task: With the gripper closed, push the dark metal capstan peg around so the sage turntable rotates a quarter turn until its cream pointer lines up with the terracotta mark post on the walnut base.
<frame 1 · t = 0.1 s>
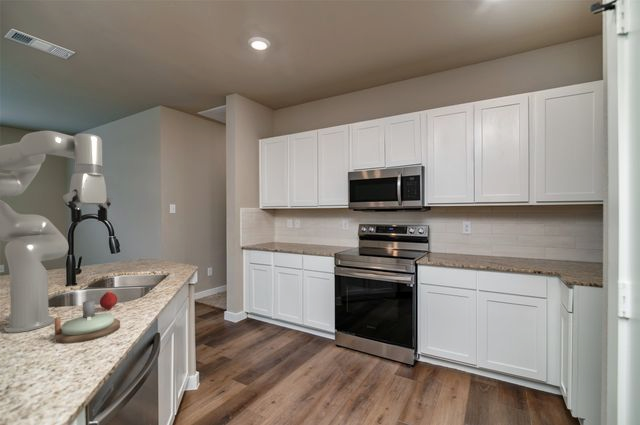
hand: (90, 221, 102), 37 cm above the table, tool pointing down, fingers open, 9 cm apart
base plate: (89, 332, 98), on the table
onion: (108, 310, 121), on the table
turntable: (88, 316, 98), point 5 cm above the table, hinge at 0.0°
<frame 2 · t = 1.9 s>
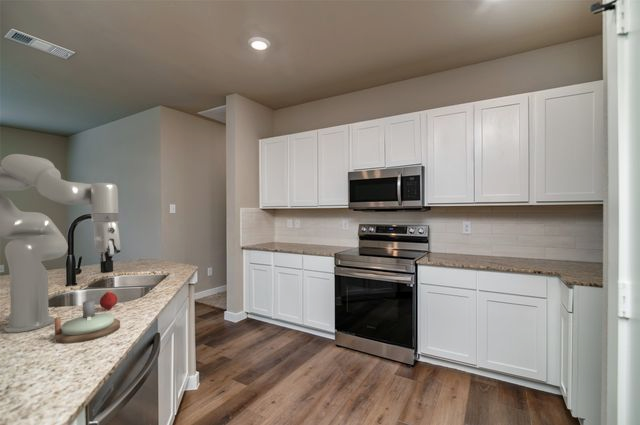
hand: (107, 272, 102), 19 cm above the table, tool pointing down, fingers closed
nothing on the table moved.
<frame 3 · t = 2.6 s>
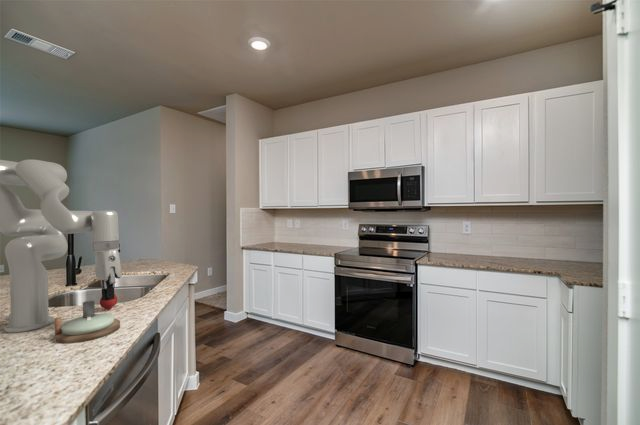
hand: (108, 299, 102), 10 cm above the table, tool pointing down, fingers closed
nothing on the table moved.
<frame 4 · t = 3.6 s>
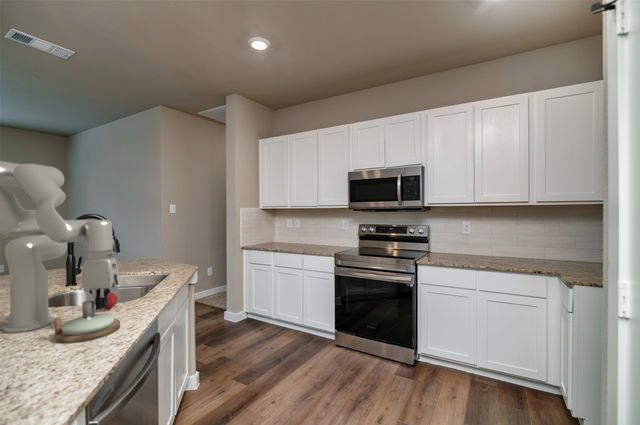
hand: (101, 308, 103), 6 cm above the table, tool pointing down, fingers closed
turntable: (88, 316, 98), point 5 cm above the table, hinge at 0.9°, touching gripper
everything else where it was.
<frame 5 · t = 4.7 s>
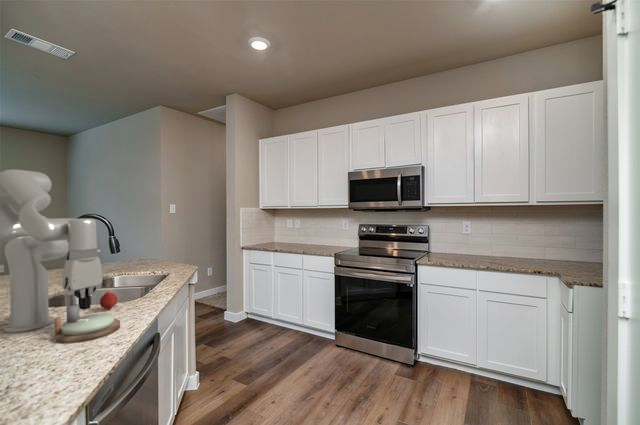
hand: (84, 308, 101), 7 cm above the table, tool pointing down, fingers closed
turntable: (88, 316, 98), point 5 cm above the table, hinge at 55.6°, touching gripper
everything else where it was.
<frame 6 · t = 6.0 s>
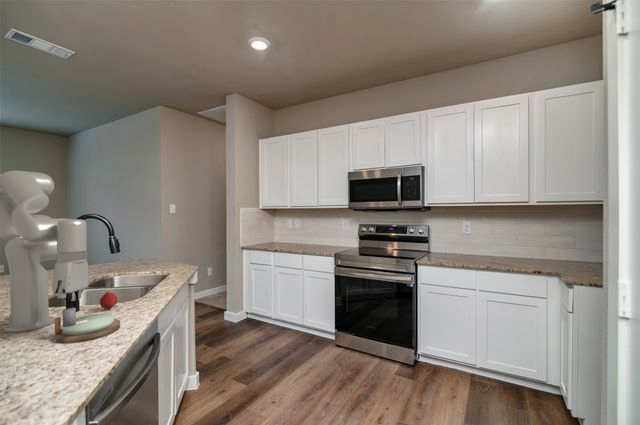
hand: (72, 312, 98), 7 cm above the table, tool pointing down, fingers closed
turntable: (88, 316, 98), point 5 cm above the table, hinge at 99.6°
everything else where it was.
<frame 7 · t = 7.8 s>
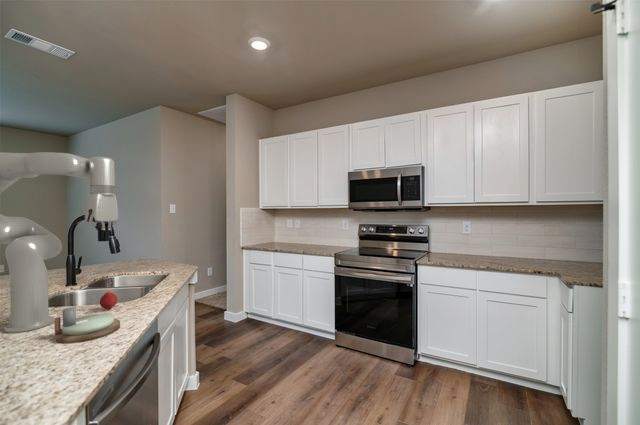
hand: (103, 241, 109), 29 cm above the table, tool pointing down, fingers closed
nothing on the table moved.
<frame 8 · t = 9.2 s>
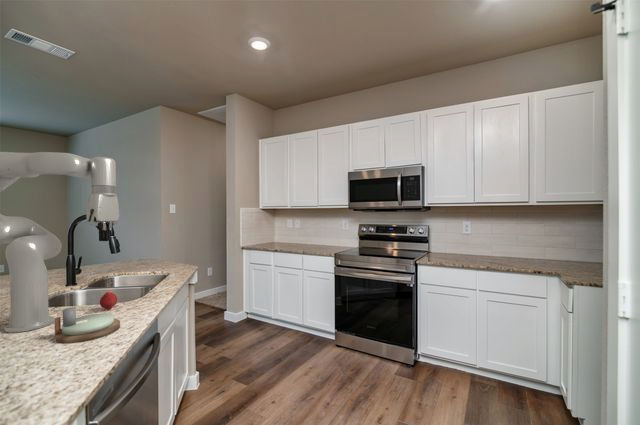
hand: (104, 240, 110), 29 cm above the table, tool pointing down, fingers closed
nothing on the table moved.
at the end: turntable at +100° (first picture: +0°); onion moved 0.2 cm from its start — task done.
